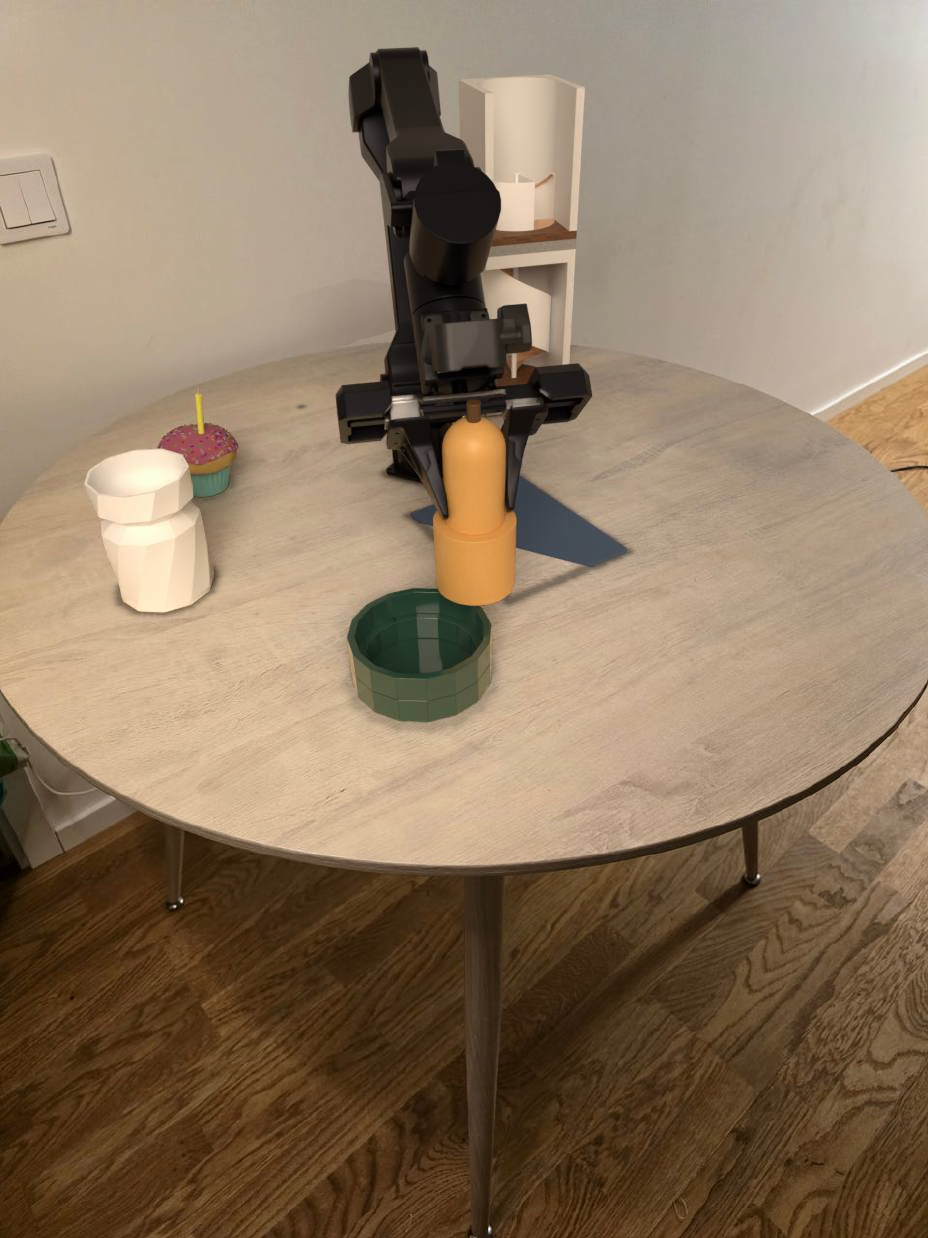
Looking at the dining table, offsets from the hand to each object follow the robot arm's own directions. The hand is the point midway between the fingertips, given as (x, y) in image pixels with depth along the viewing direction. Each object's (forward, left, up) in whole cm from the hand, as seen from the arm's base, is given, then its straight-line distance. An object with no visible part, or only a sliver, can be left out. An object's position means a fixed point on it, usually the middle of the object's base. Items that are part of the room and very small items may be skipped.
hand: (477, 515), depth 64 cm
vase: (-31, -4, -14) cm, 34 cm away
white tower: (-19, +49, -14) cm, 55 cm away
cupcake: (-40, +12, -14) cm, 44 cm away
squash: (-1, +1, -7) cm, 7 cm away
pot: (-3, -5, -14) cm, 15 cm away
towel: (-5, +18, -14) cm, 24 cm away
